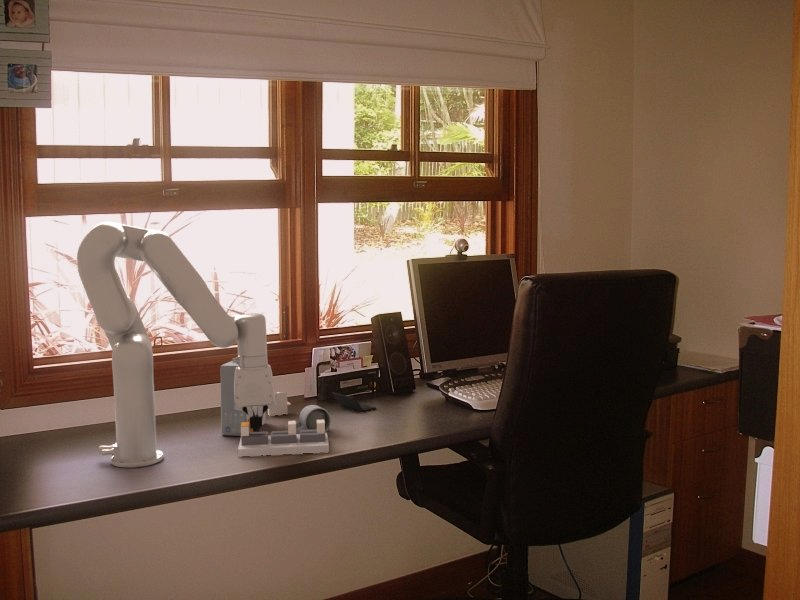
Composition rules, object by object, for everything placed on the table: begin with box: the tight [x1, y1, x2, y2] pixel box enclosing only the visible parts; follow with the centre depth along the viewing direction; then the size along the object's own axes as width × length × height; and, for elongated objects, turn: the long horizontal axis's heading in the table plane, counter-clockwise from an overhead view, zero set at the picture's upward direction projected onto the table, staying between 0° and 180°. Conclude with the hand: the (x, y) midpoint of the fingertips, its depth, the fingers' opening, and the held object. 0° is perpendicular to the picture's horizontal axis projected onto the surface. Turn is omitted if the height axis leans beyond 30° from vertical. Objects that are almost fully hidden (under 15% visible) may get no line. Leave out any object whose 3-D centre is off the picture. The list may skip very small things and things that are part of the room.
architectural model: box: [267, 391, 292, 417], centre depth 250 cm, size 3×7×7 cm, turn 116°
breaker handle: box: [240, 422, 250, 437], centre depth 212 cm, size 2×4×3 cm, turn 8°
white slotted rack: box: [237, 420, 330, 458], centre depth 213 cm, size 23×12×7 cm, turn 98°
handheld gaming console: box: [332, 392, 377, 413], centre depth 256 cm, size 12×7×10 cm
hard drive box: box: [219, 360, 267, 437], centre depth 232 cm, size 16×8×20 cm, turn 168°
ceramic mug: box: [296, 404, 332, 434], centre depth 229 cm, size 11×8×8 cm
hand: (256, 430), depth 212 cm, fingers closed
